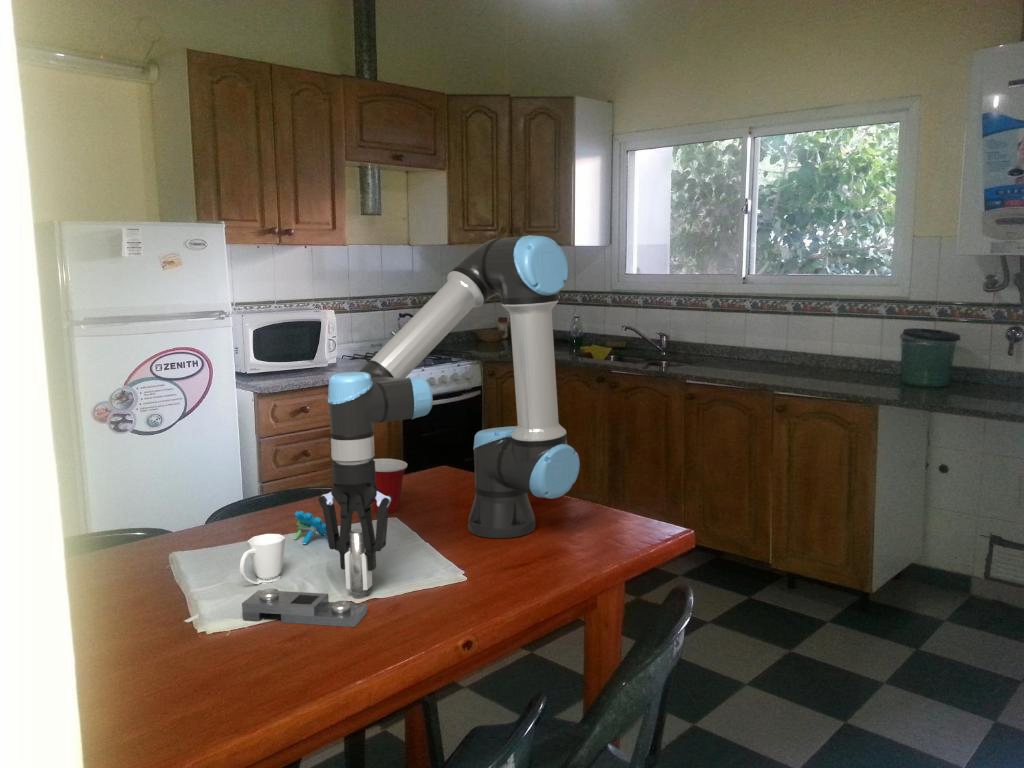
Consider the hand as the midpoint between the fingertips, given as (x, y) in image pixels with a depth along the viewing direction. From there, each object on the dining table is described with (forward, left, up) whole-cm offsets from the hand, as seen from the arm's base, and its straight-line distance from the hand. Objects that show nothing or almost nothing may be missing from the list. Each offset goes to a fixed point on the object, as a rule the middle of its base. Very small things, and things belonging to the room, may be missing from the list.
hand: (359, 586), depth 151 cm
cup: (+21, -4, -2) cm, 21 cm away
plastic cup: (+13, -53, -2) cm, 55 cm away
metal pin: (0, 0, -2) cm, 2 cm away
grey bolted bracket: (+6, +10, -2) cm, 12 cm away
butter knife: (+25, +15, -2) cm, 30 cm away
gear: (+21, -29, -2) cm, 36 cm away
